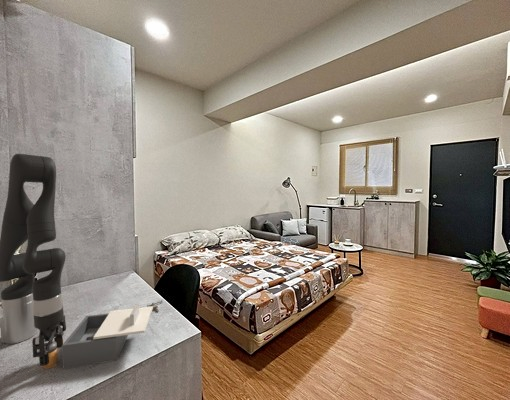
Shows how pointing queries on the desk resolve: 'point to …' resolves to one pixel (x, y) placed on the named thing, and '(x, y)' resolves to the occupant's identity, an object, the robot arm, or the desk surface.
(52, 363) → the peg
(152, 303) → the clamp
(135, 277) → the desk surface
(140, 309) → the lid
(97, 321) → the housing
